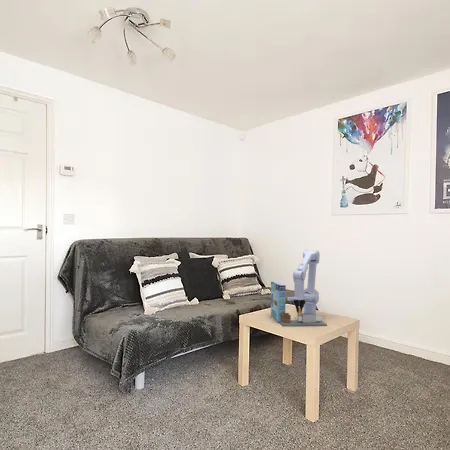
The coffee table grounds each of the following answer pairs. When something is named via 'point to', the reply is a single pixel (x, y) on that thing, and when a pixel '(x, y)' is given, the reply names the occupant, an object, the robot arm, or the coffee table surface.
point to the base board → (299, 323)
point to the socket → (285, 318)
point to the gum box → (277, 300)
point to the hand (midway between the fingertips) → (299, 312)
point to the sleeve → (308, 318)
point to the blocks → (299, 316)
